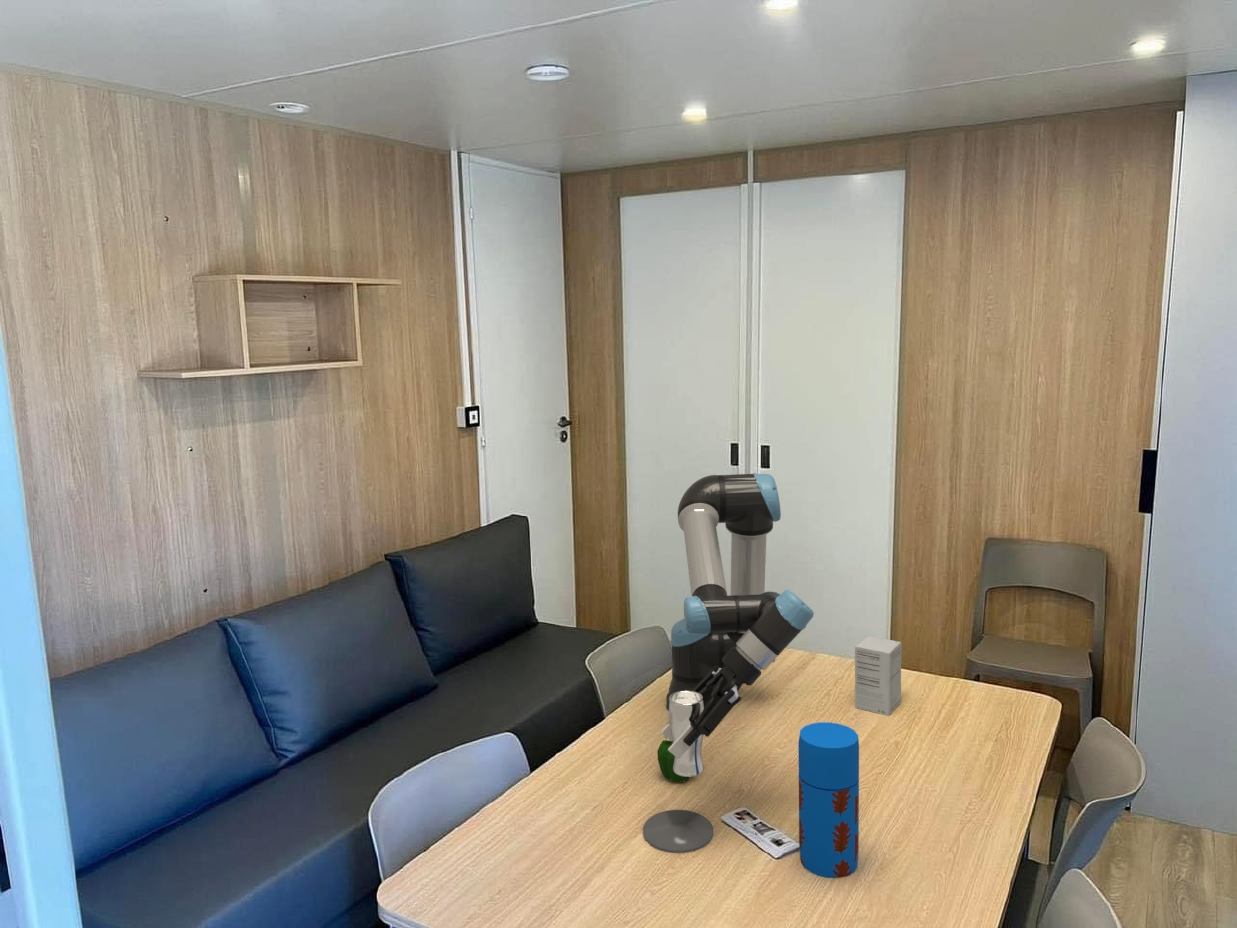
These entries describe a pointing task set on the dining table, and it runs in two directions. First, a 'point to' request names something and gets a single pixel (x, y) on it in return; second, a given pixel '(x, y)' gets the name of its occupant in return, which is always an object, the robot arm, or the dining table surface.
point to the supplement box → (878, 675)
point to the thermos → (829, 799)
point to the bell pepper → (668, 762)
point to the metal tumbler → (681, 714)
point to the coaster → (678, 831)
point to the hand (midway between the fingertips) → (669, 745)
